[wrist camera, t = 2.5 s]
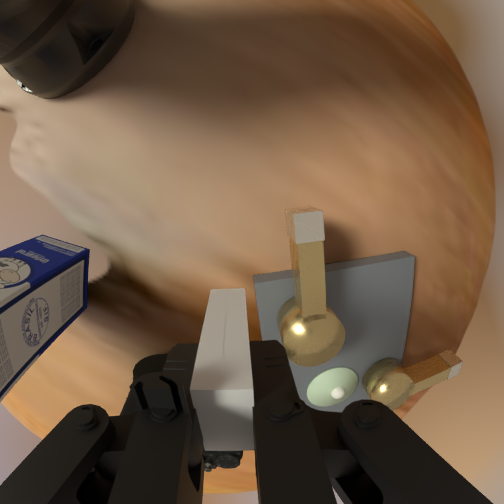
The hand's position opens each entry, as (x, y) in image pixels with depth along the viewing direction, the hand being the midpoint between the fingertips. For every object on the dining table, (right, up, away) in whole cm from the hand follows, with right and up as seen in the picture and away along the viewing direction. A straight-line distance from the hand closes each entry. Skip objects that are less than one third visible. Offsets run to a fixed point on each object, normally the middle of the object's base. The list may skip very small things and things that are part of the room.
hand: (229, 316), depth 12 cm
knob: (+5, +1, +11) cm, 12 cm away
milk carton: (-19, +1, +12) cm, 22 cm away
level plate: (+11, -11, +16) cm, 23 cm away
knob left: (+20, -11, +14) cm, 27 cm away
